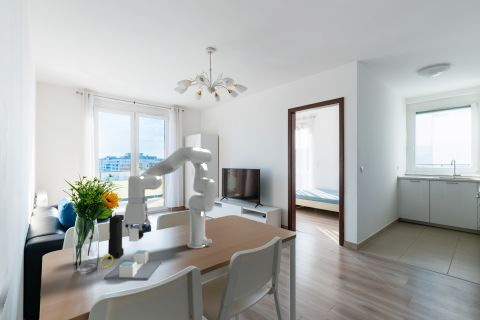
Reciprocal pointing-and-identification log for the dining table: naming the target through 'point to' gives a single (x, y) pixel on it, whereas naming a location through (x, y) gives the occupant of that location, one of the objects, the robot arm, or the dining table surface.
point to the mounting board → (139, 274)
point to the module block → (134, 233)
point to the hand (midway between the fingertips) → (136, 237)
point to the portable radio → (115, 237)
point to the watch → (105, 257)
